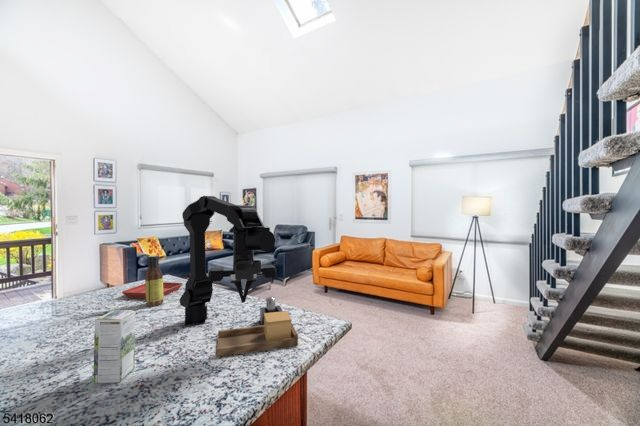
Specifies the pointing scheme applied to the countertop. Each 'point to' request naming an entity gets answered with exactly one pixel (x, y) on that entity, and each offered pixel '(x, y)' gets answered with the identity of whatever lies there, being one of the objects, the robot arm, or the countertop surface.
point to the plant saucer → (141, 290)
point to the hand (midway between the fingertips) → (243, 302)
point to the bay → (250, 340)
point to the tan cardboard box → (277, 325)
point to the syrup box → (114, 346)
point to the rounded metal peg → (270, 304)
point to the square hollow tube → (264, 310)
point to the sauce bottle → (154, 282)
